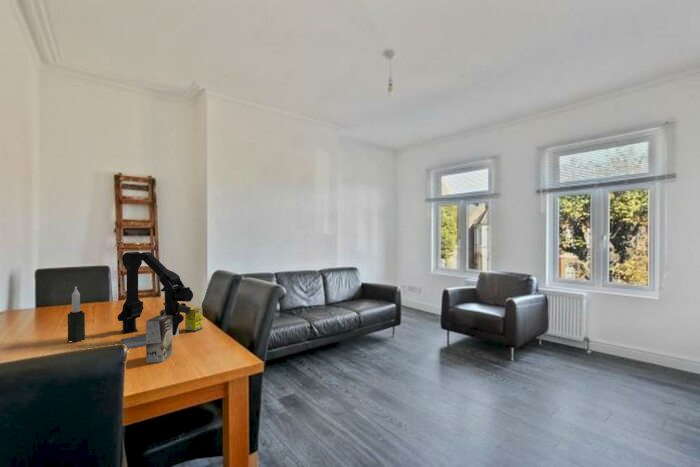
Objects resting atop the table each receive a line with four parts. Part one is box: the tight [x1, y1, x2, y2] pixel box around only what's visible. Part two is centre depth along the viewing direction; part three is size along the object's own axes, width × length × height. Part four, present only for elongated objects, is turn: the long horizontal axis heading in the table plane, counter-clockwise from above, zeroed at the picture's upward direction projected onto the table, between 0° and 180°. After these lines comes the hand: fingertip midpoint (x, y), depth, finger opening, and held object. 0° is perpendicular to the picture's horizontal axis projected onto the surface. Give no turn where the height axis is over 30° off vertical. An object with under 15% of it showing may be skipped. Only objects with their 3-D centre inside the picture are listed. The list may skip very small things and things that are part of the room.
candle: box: [67, 286, 86, 343], centre depth 161 cm, size 5×5×25 cm
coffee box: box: [145, 315, 174, 364], centre depth 139 cm, size 9×6×16 cm
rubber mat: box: [120, 334, 146, 350], centre depth 159 cm, size 14×14×1 cm
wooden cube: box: [172, 324, 180, 338], centre depth 169 cm, size 5×5×5 cm
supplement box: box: [184, 306, 203, 333], centre depth 178 cm, size 6×6×11 cm
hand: (171, 333), depth 169 cm, fingers open, 9 cm apart
